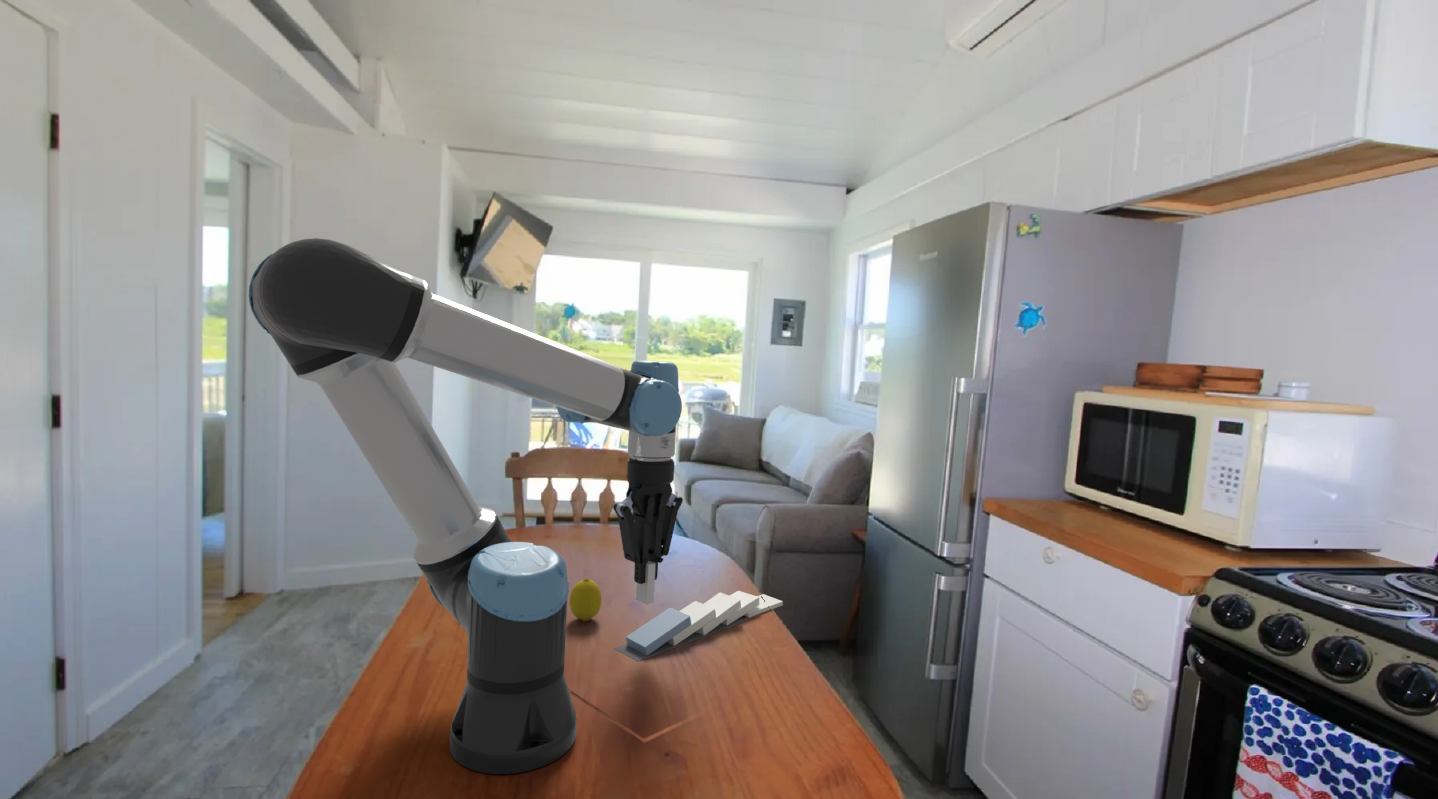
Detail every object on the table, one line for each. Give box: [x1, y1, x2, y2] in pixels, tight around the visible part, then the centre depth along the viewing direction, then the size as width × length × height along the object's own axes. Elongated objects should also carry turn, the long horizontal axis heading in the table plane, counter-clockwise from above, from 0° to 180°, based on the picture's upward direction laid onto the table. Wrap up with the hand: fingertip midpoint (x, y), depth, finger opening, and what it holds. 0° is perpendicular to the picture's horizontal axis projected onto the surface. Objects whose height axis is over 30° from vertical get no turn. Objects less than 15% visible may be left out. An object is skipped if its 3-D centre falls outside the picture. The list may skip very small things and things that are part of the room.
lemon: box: [569, 577, 602, 622], centre depth 124 cm, size 6×6×8 cm
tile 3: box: [695, 591, 741, 635], centre depth 125 cm, size 2×5×10 cm
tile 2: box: [667, 600, 716, 646], centre depth 120 cm, size 2×5×10 cm
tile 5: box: [742, 593, 784, 619], centre depth 134 cm, size 2×5×10 cm
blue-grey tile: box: [625, 607, 691, 656], centre depth 116 cm, size 2×5×10 cm
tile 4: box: [721, 590, 759, 625], centre depth 130 cm, size 2×5×10 cm
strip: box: [614, 616, 748, 662], centre depth 120 cm, size 26×6×1 cm, turn 136°
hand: (644, 600), depth 113 cm, fingers closed
